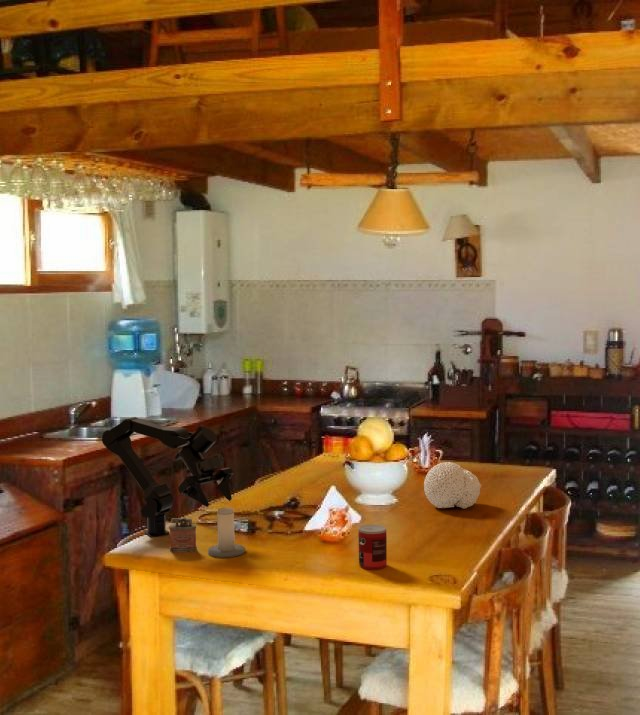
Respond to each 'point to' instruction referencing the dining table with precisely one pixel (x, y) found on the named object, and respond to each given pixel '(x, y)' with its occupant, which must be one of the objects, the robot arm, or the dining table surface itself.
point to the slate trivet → (226, 554)
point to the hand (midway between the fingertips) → (219, 503)
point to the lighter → (182, 535)
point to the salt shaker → (225, 529)
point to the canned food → (372, 547)
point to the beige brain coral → (451, 486)
